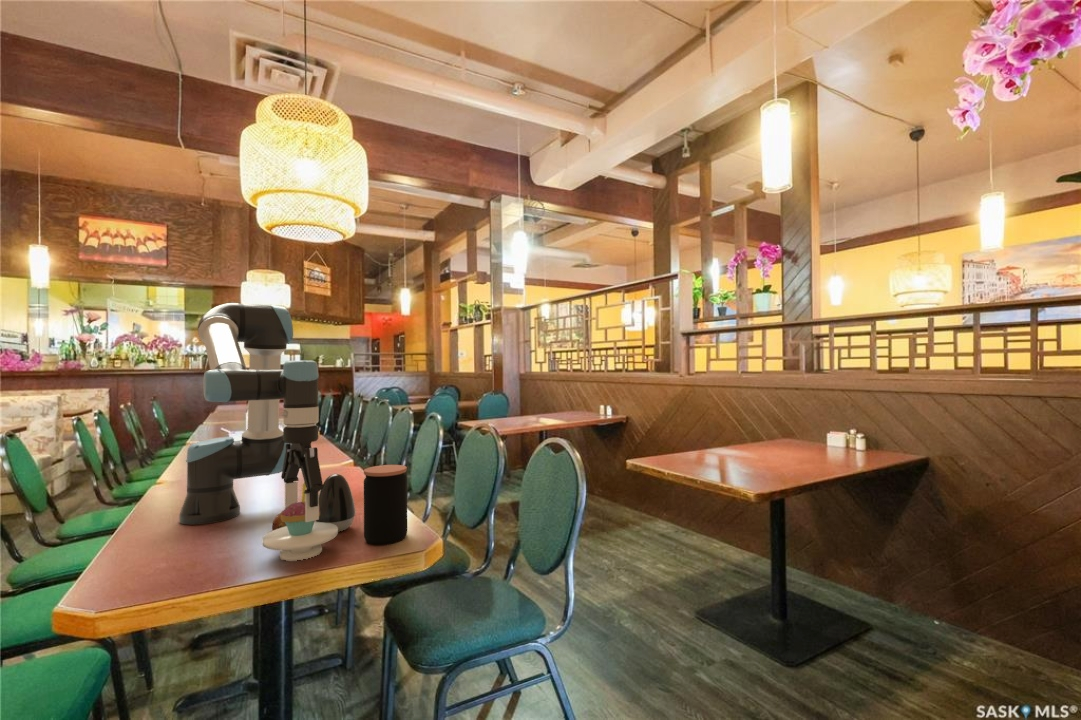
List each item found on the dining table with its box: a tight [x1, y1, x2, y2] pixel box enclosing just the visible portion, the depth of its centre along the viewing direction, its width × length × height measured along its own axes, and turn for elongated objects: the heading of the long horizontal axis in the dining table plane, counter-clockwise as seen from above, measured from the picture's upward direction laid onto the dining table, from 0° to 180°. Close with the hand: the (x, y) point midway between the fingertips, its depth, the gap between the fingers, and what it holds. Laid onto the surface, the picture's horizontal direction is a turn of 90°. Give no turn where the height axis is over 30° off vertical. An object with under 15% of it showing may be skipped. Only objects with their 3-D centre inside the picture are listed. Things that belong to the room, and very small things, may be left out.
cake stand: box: [262, 521, 339, 562], centre depth 116 cm, size 16×16×5 cm
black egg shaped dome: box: [315, 473, 356, 533], centre depth 134 cm, size 10×10×15 cm
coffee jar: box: [363, 464, 408, 546], centre depth 126 cm, size 11×11×18 cm
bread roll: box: [271, 511, 286, 531], centre depth 134 cm, size 10×10×8 cm
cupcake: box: [280, 481, 320, 536], centre depth 116 cm, size 9×8×12 cm
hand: (301, 514), depth 116 cm, fingers open, 13 cm apart
